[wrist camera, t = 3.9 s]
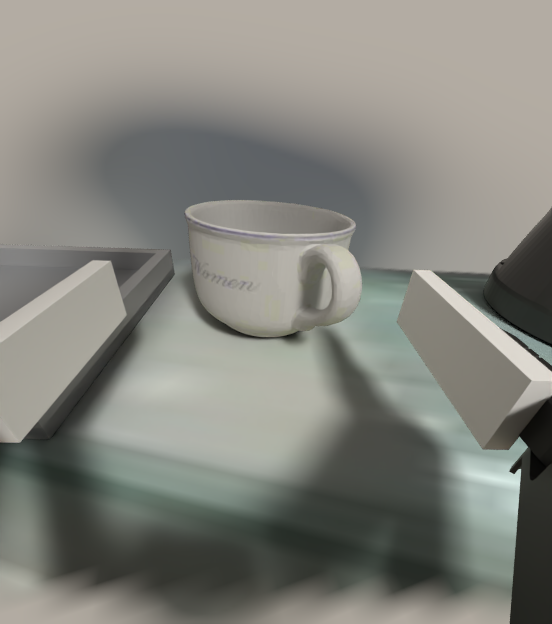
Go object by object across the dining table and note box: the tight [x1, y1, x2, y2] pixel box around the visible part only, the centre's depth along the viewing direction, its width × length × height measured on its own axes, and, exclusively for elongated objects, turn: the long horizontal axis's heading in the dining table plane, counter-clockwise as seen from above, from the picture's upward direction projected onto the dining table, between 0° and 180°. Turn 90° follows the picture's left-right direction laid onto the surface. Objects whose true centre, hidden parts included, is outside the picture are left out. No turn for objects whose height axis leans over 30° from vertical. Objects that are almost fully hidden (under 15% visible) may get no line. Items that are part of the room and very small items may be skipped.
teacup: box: [185, 200, 362, 337], centre depth 19 cm, size 14×11×8 cm
